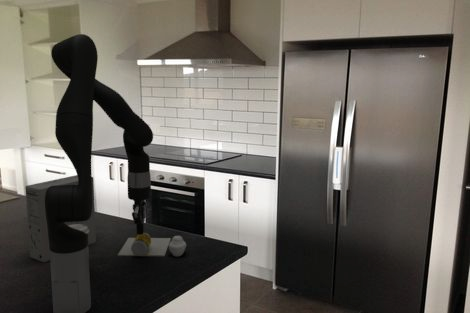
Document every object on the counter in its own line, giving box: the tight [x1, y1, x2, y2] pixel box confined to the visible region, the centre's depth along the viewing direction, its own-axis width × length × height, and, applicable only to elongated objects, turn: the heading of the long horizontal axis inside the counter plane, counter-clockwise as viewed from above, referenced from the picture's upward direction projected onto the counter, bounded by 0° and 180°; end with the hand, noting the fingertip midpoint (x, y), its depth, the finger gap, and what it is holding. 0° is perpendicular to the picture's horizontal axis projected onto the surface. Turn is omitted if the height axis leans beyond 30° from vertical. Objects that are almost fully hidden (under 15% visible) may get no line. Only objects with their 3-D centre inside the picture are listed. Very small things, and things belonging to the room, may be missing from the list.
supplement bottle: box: [131, 232, 152, 257], centre depth 146 cm, size 6×6×10 cm
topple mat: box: [117, 237, 172, 257], centre depth 150 cm, size 16×16×1 cm
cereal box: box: [25, 174, 97, 263], centre depth 145 cm, size 22×8×25 cm, turn 149°
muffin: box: [168, 235, 187, 258], centre depth 144 cm, size 6×6×7 cm
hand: (140, 233), depth 141 cm, fingers closed
